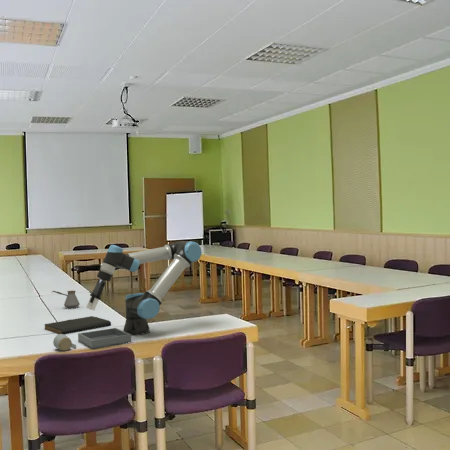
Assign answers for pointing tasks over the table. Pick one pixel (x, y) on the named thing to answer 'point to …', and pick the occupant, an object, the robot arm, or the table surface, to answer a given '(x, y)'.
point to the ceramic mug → (63, 342)
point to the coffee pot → (70, 299)
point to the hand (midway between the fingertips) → (90, 309)
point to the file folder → (77, 325)
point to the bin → (104, 338)
